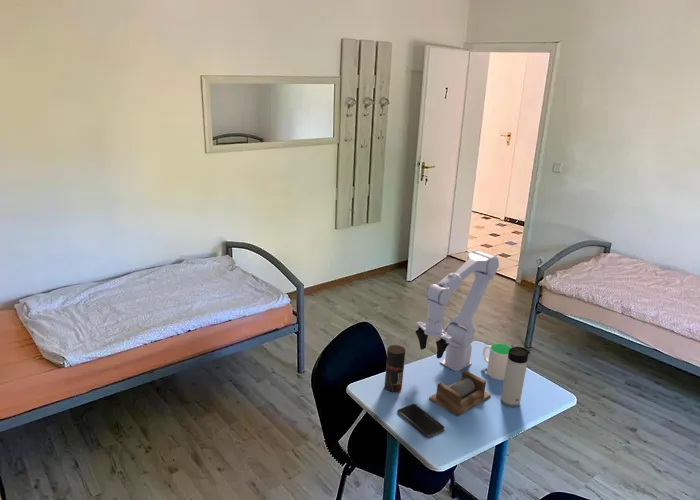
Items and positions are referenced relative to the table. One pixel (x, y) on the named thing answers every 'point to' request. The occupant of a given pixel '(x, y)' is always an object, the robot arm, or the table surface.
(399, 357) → the deodorant
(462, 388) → the roll
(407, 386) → the table surface
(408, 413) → the phone
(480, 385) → the cradle
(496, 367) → the mug
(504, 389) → the travel mug
